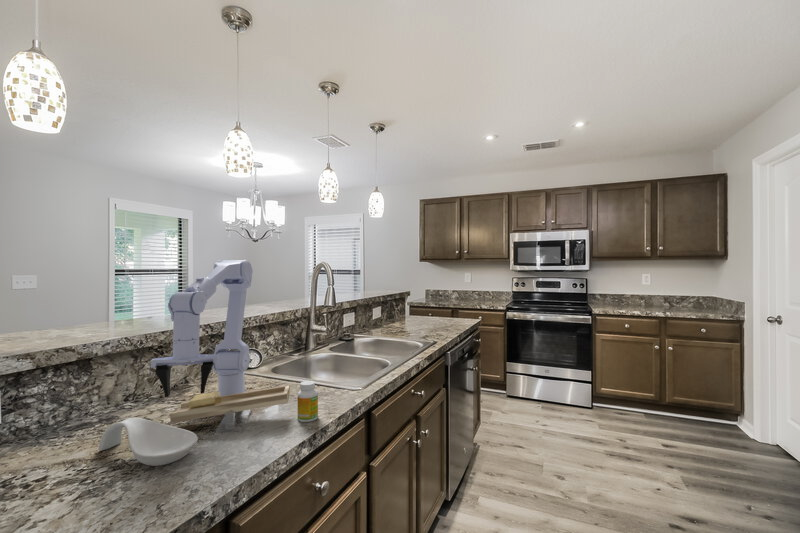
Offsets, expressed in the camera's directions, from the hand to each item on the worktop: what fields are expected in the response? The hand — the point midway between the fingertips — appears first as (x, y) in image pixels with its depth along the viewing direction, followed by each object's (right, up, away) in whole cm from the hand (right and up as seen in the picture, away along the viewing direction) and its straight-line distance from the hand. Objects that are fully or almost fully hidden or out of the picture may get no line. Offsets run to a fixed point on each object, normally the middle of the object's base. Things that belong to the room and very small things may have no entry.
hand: (185, 394), depth 91 cm
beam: (+10, -6, +6) cm, 13 cm away
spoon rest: (-2, -10, -11) cm, 15 cm away
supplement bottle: (+29, -10, +8) cm, 31 cm away
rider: (+3, -5, +5) cm, 8 cm away
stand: (+10, -10, +6) cm, 15 cm away
